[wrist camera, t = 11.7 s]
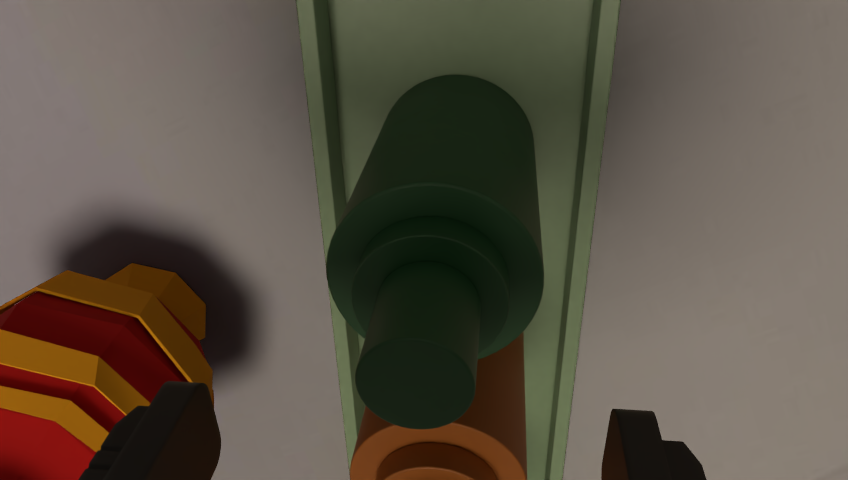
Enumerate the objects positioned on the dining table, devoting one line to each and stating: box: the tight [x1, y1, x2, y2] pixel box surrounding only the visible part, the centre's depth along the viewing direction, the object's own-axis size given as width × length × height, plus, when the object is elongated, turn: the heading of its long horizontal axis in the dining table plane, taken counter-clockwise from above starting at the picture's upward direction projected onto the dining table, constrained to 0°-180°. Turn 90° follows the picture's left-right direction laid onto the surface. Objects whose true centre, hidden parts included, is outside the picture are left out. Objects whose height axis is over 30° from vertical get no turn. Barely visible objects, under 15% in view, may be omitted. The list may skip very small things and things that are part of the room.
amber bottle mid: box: [350, 332, 527, 480], centre depth 24 cm, size 6×6×13 cm
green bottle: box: [326, 75, 544, 429], centre depth 20 cm, size 6×6×13 cm
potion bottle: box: [0, 263, 214, 480], centre depth 25 cm, size 10×10×15 cm
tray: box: [296, 0, 621, 480], centre depth 28 cm, size 29×10×2 cm, turn 1°
